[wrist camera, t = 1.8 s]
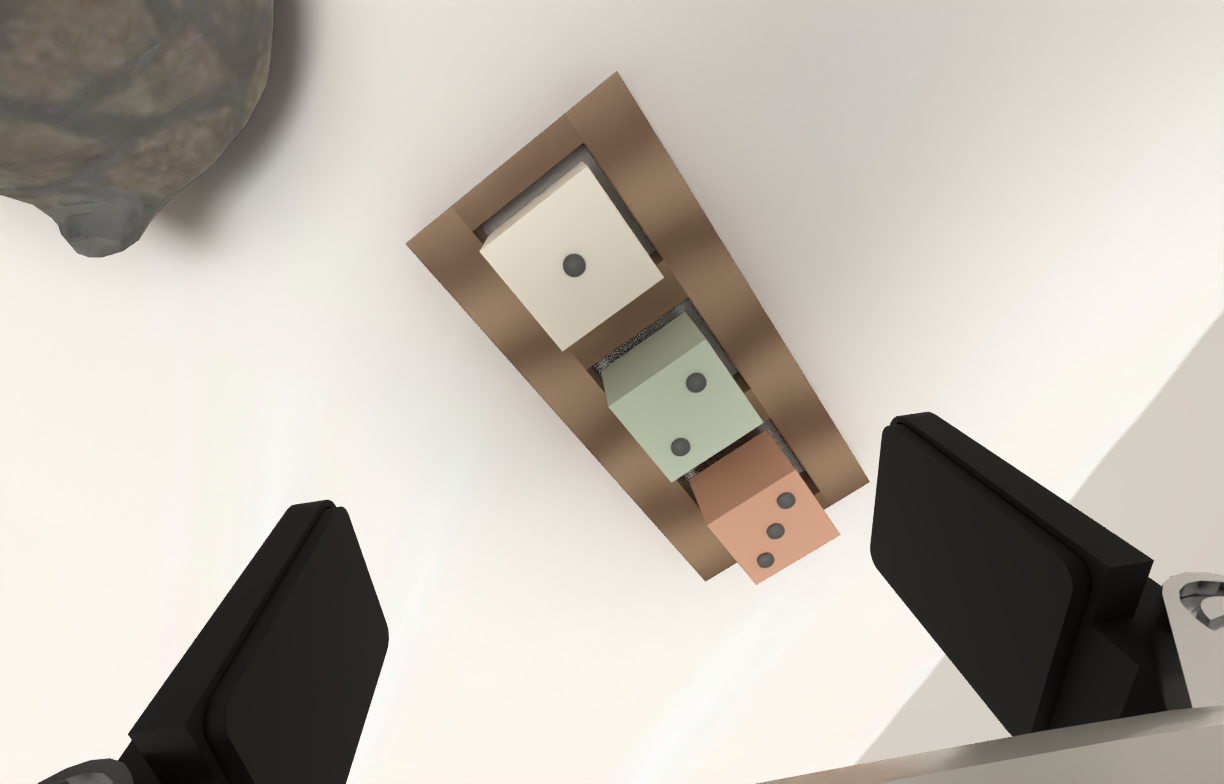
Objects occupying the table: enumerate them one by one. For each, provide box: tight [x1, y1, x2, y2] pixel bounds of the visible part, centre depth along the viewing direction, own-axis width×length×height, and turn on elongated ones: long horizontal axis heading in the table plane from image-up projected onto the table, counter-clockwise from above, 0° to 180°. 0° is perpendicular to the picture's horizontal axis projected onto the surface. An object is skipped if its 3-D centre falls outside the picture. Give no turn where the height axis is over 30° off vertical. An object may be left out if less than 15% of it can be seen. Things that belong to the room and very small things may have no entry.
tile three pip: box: [689, 429, 840, 585], centre depth 34 cm, size 6×6×5 cm
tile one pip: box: [479, 161, 664, 352], centre depth 27 cm, size 6×6×5 cm
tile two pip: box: [601, 312, 764, 483], centre depth 31 cm, size 6×6×5 cm
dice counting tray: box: [406, 72, 870, 581], centre depth 34 cm, size 29×13×2 cm, turn 36°
